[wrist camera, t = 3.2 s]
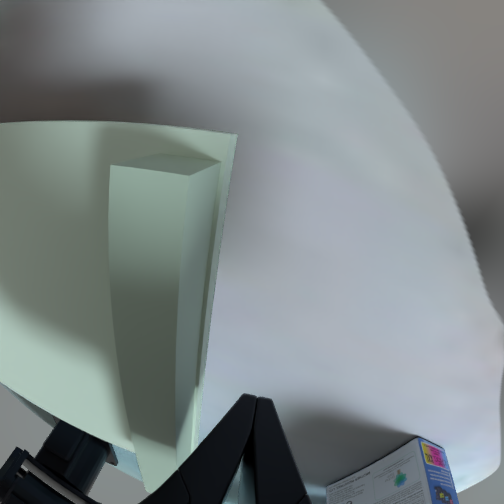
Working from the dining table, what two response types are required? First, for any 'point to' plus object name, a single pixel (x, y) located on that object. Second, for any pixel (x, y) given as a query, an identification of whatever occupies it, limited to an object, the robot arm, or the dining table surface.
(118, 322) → the lid
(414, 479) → the ink cartridge box
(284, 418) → the dining table surface
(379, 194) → the dining table surface
